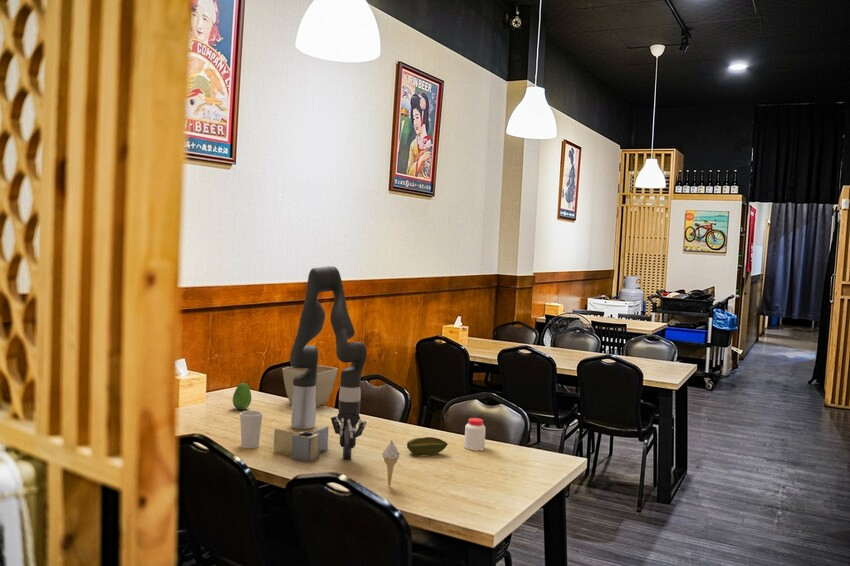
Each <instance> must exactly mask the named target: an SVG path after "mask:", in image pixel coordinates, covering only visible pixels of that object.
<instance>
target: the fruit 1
mask: <svg viewBox="0 0 850 566" xmlns="http://www.w3.org/2000/svg"><path fill="white" fill-rule="evenodd" d="M251 402H252V392H251V388H250V385H249V384H248V383H247V382H240V383H239V384H238V385H237V386H236V389H235V390H234V393H233V396H232V404H233V406H234V408H235V409H237V410H238V411H246V409H247V408H248V407H250V404H251Z"/></svg>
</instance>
